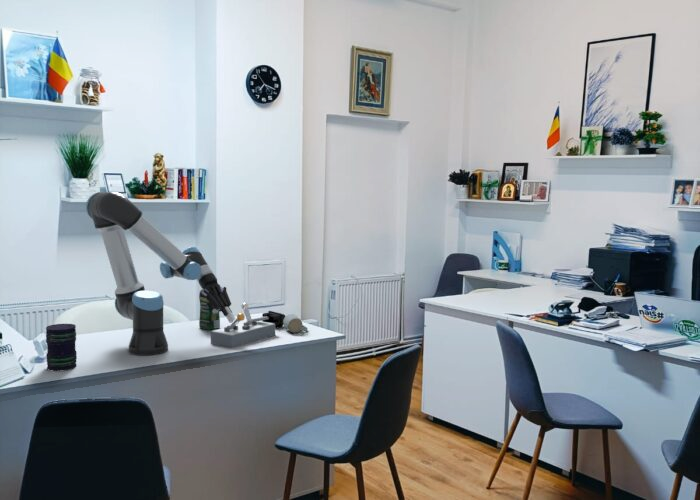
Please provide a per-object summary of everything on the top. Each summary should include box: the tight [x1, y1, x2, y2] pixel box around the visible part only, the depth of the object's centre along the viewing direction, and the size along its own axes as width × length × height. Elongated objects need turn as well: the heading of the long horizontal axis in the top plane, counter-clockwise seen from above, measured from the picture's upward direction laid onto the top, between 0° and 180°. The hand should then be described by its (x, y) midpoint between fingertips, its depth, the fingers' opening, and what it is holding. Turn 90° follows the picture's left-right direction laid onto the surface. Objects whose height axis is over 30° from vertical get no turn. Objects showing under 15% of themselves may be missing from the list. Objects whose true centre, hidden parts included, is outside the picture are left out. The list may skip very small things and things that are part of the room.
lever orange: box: [226, 312, 246, 330], centre depth 262 cm, size 3×4×10 cm
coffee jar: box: [198, 288, 221, 331], centre depth 290 cm, size 10×8×19 cm
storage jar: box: [45, 323, 78, 372], centre depth 223 cm, size 10×10×15 cm
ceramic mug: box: [283, 313, 308, 334], centre depth 288 cm, size 11×8×8 cm
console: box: [210, 321, 276, 348], centre depth 271 cm, size 12×28×7 cm, turn 147°
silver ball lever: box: [240, 302, 255, 325], centre depth 274 cm, size 3×4×10 cm
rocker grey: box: [251, 316, 269, 321], centre depth 279 cm, size 6×4×1 cm
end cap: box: [261, 310, 287, 329], centre depth 298 cm, size 10×7×7 cm
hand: (232, 320), depth 263 cm, fingers closed
